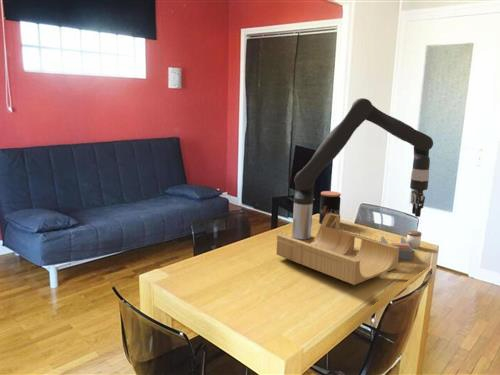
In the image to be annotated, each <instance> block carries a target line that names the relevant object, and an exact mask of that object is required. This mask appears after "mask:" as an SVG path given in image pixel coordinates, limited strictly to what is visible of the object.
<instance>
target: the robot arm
mask: <svg viewBox="0 0 500 375" xmlns="http://www.w3.org/2000/svg"><path fill="white" fill-rule="evenodd" d="M366 121H368V122H370V123H372V124H374V125H376V126H378V127H380V128H381V129H383V130H385V131H386V132H388V133H389V134H390V135H392V136H394V137H395V138H397V139H399V140H401V141H403V142H406V143H408V144H409V145H411V146H413V161H412V171H411V176H410V186H409V187H410V189H411V201H410V203H411V205H412V207H411V210H412V211H411V213H412V214H413V215H414V216H415V217H417V218H418V217H419V218H420V217H421V213H422V209H423V208H424V205H425V201H426V200H425V199H426V195H425V194H424V191H427V190H428V189H429V180H430V166H431V164H430V163H431V160H430V159H431V158H430V150H431V149H432V148H433V146H434V141H433V139H432V137H431V136H429V135H427V134H425V133H423V132H422V131H419V130H417V129H415V128H413V127H412V126H410V125H409V124H407V123H405V122H404V121H402V120H400V119H398V118H395V117H394V116H392V115H389V114H387V113H385V112H383V111H381V110H380V109H379V108H377V107H376V106H374V105H373V103H372V102H371V100H369V99H368V98H366V97H365V98H363V97H362V98H357V99H356V100H354V102H353V103H352V104H351V107H350V109H349V111H348V112H347V113H346V115H345V116H344V118H343V119H342V120H341V121H340V123H339V124H338V125H336V126H335V127H334V128H333V129H332V130H331V131H330V132H329V133H328V134H327V136H326V137H325V138H324V140H322V142H321V143H320V145H319V146H318V147H317V149H316V151H315V152H314V154H313V155H312V157H311V159H310V160H309V161H308V162H307V164H306V165H305V166H303V168H302V169H300V170H299V171H298V172H296V174H295V176H294V179H293V180H294V181H293V182H294V186H295V190H294V196H293V209H292V210H293V213H292V215H293V216H292V233H291V237H292V238H294V239H297V240H304V239H305V240H308V239H309V240H310V239H311V237H312V226H313V220H312V219H313V208H314V207H313V206H314V197H315V196H314V194H315V184H316V182H315V181H317V178H318V177H319V176H320V174H321V173H322V171H324V169H325V168H326V167H327V166H328V165H329V164H330V163H331V162H332V161H333V160H334V159H335V158H336V157H337V156H338V155H339V154H340V152H341V151H342V150H343V149H344V147H345V146H346V145H347V143H348V142H349V141H350V139H351V137H352V135H353V134H354V132H355V131H357V129H358V128H359V127H360V126H361V125H362V124H363V123H364V122H366ZM298 237H299V238H298ZM301 238H302V239H301Z"/></svg>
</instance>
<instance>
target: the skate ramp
mask: <svg viewBox="0 0 500 375" xmlns="http://www.w3.org/2000/svg"><path fill="white" fill-rule="evenodd" d="M327 211H328V210H327ZM342 227H343V230H341V228H342ZM348 229H349V230H348V231H349V232H348V231H346V227H344V226H341V214H340V215H337V214H336V213H335V214H333V213H328V214H326V215H325V217H324V219H323V221H322V224H320V226H319V228H318V231H317V233H316V235H315V237H314V238H313V239H311V241H310V240H308V239H302V238H301V239H297V238H292V236H288V234H286V235H285V234H283V232H281V231H279V230H277V235H276V256H280V257H282V258H285V259H286V260H289V261H293V262H294V263H297V264H300V265H302V266H304V267H305V266H306V267H307V268H310V269H312V270H315V271H317V272H321V273H322V274H325V275H327V276H330V277H333V278H336V279H338V280H341V281H343V282H346V283H349V284H351V285H354V286H355V285H357V284H360V283H362V282H365V281H367V280H368V281H369V279H370V280H371V279H372V278H374V277H377V276H379V275H383V274H384V273H387V272H389V271H390V272H391V271H393V270H395V269H397V268H398V264H399V260H398V256H399V245H398V246H394V245H391V244H390V243H392V242H389V243H388V242H387V243H388V244H387V243H384V242H381V241H382V240H381V239H380V240H378V238H379V236H378V235H376V237H374V239H373V238H372V237H371V236H372V235H368V237H366V236H364V234H362V233H361V231H359V230H358V231H359V233H358V234H357V233H356V232H355V231H356V230H354V229H351V228H348ZM351 230H352V231H351ZM362 235H363V236H362ZM377 237H378V238H377ZM298 238H299V237H298ZM355 239H360V240H361V241H360V242H361V243H360V247H359V250H358V251H357V253H355V242H356V241H355ZM388 240H389V241H390V239H387V238H386V241H388ZM383 241H384V240H383ZM394 243H397V241H395V240H394ZM398 243H399V244H400V243H401V241H400V242H398Z"/></svg>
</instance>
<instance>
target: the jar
mask: <svg viewBox="0 0 500 375" xmlns="http://www.w3.org/2000/svg"><path fill="white" fill-rule="evenodd" d="M406 233H407V236H406V242H407V243H408V244H409V245H410V247H411V248H412V249H413V250H418V249H421V239H422V232H420V231H416V230H407V231H406Z"/></svg>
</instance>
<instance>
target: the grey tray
mask: <svg viewBox="0 0 500 375" xmlns="http://www.w3.org/2000/svg"><path fill="white" fill-rule="evenodd" d="M380 238H381V239H380V242H384V243H387V244H389V242H388V240H387V239H386V238H385V237H384V236H380ZM381 240H382V241H381ZM383 240H384V241H383ZM400 243H402V244H408V243H407V239H405V238H404V237H400ZM414 250H415V249H412V248H411V247H410V250H401V249H399V256H398V261H407V262H408V261H410V262H413V261H414V256H415V251H414Z"/></svg>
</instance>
